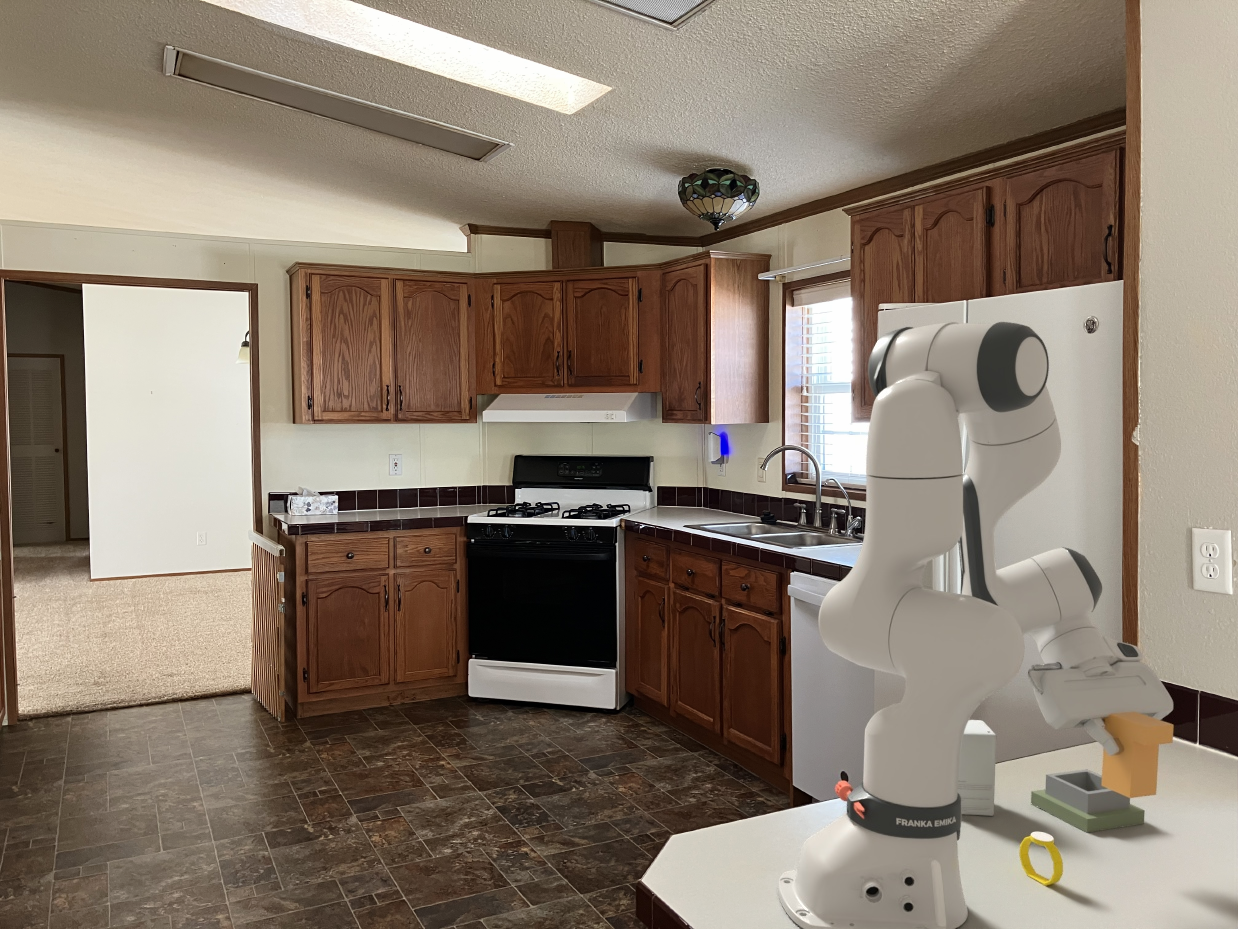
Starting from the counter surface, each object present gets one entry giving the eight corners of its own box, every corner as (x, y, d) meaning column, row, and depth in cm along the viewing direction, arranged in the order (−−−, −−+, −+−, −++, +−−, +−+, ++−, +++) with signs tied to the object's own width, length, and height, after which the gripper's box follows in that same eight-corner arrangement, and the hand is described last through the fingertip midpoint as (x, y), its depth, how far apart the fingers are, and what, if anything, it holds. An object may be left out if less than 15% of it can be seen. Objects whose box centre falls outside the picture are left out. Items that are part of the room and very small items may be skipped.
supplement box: (981, 798, 152) (984, 719, 152) (994, 817, 145) (997, 734, 144) (933, 795, 153) (935, 717, 153) (944, 814, 146) (947, 732, 145)
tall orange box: (1101, 785, 131) (1105, 712, 130) (1127, 782, 132) (1131, 710, 132) (1142, 803, 124) (1147, 727, 124) (1169, 800, 126) (1173, 724, 126)
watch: (1065, 890, 123) (1070, 846, 122) (1049, 894, 122) (1053, 849, 121) (1029, 866, 129) (1033, 824, 128) (1013, 870, 127) (1017, 827, 127)
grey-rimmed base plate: (1086, 832, 140) (1088, 798, 140) (1030, 803, 150) (1032, 772, 150) (1143, 823, 144) (1145, 790, 144) (1085, 796, 154) (1086, 765, 154)
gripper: (1035, 653, 132) (1088, 746, 123) (1147, 646, 139) (1206, 734, 130) (1010, 677, 136) (1059, 769, 127) (1120, 669, 143) (1175, 756, 134)
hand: (1134, 751), depth 128 cm, fingers closed on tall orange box, 5 cm apart
